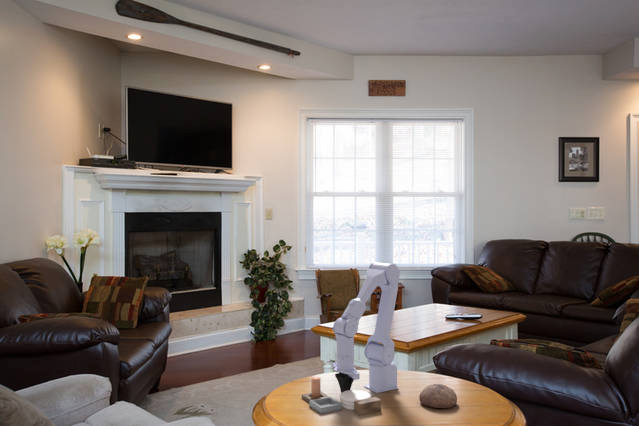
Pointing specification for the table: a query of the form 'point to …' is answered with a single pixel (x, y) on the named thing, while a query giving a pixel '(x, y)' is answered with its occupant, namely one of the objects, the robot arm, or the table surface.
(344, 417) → the table surface
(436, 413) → the table surface
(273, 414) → the table surface
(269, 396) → the table surface
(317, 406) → the tray
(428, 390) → the decorative stone
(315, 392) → the dowel
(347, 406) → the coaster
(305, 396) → the collar
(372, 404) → the brown rectangular block
